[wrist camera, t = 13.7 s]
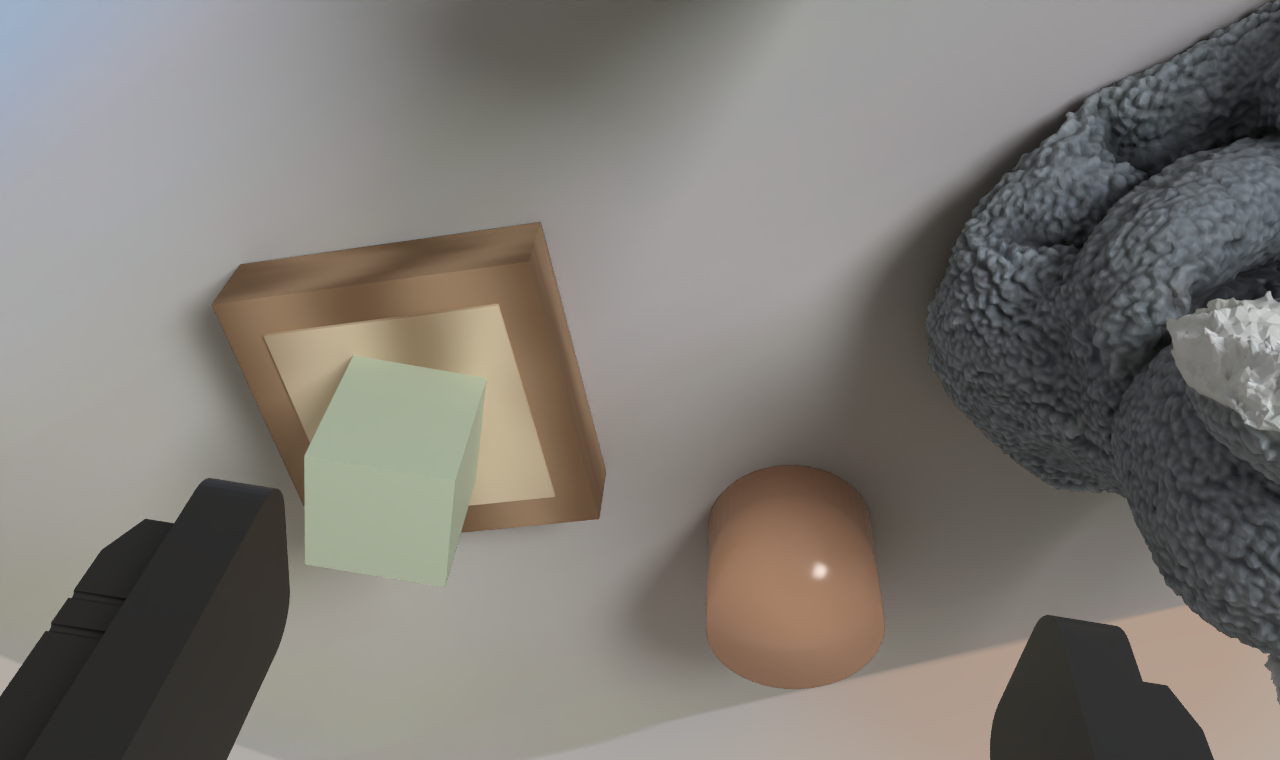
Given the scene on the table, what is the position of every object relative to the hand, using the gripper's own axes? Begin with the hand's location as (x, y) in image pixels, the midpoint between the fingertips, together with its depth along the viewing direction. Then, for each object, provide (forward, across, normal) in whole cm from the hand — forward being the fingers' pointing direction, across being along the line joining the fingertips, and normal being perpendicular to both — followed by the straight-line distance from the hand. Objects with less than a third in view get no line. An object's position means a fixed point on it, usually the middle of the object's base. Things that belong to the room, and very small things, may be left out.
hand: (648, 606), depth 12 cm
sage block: (+26, +9, +19) cm, 33 cm away
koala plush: (+30, -17, +9) cm, 36 cm away
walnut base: (+29, +9, +19) cm, 36 cm away
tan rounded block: (+30, -7, +24) cm, 39 cm away
